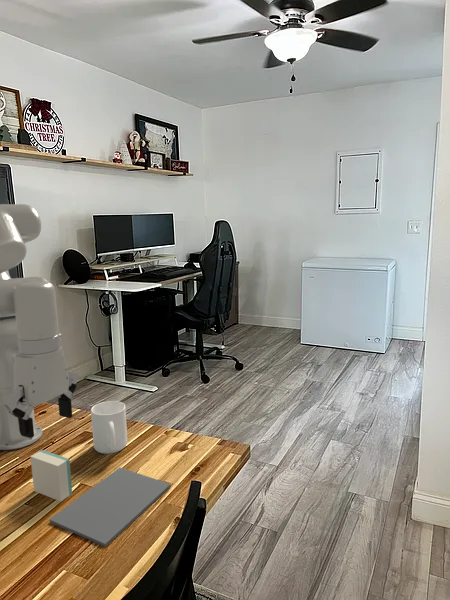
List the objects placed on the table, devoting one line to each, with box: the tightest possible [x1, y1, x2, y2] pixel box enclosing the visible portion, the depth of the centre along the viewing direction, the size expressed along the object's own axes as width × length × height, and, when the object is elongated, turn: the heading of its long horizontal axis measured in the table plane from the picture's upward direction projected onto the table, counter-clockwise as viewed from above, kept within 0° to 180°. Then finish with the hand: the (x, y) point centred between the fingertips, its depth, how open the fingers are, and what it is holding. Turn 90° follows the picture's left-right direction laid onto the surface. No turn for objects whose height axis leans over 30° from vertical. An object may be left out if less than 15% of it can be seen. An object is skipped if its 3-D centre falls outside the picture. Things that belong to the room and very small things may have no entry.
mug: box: [90, 400, 128, 455], centre depth 112 cm, size 12×8×10 cm
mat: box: [49, 467, 172, 547], centre depth 92 cm, size 14×20×1 cm
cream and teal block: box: [30, 449, 73, 502], centre depth 95 cm, size 8×3×8 cm, turn 62°
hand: (47, 425), depth 93 cm, fingers open, 9 cm apart
